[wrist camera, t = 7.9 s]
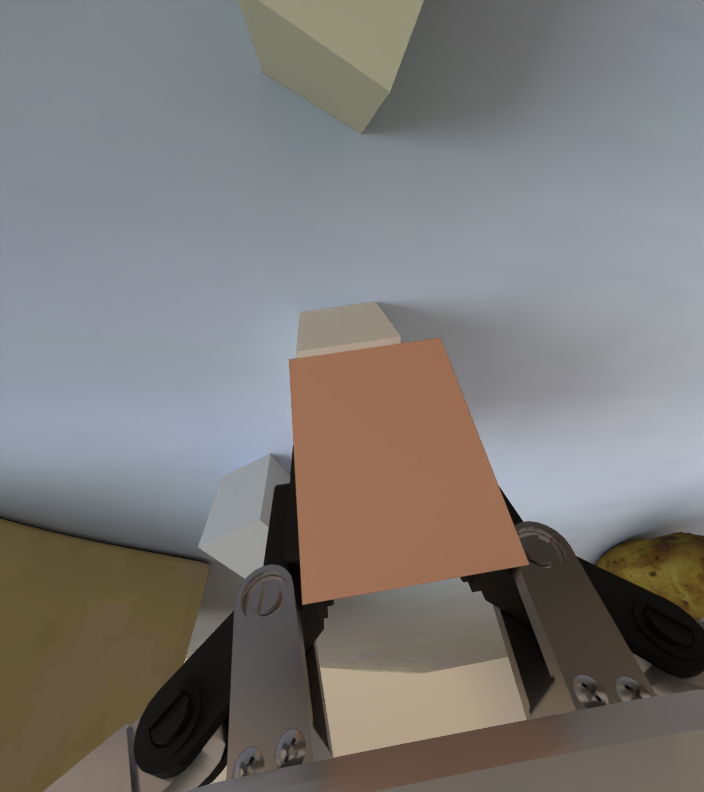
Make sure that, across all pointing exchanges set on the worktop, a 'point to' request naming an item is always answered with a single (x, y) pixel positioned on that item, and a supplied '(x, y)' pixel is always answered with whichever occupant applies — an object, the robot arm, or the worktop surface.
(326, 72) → the sage brick
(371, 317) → the cream brick
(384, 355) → the terracotta brick
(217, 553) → the slate brick
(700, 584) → the potato
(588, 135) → the worktop surface
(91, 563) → the cheese
